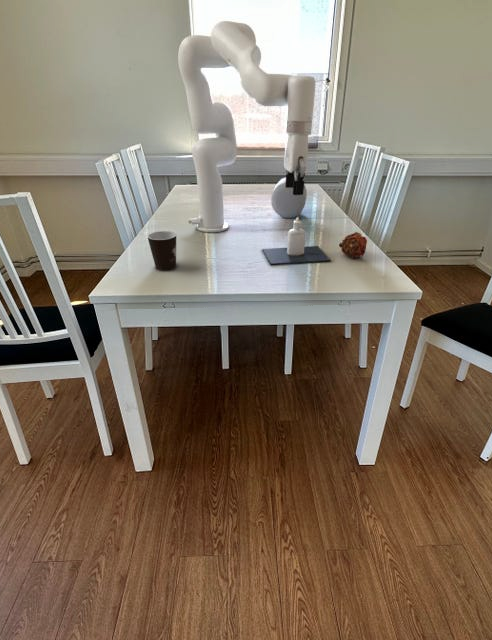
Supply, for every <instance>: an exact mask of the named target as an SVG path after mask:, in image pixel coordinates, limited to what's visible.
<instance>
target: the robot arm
mask: <svg viewBox="0 0 492 640" xmlns="http://www.w3.org/2000/svg"><path fill="white" fill-rule="evenodd" d="M256 37H257V36H256V34H255V32H254V29H253V28H252V27H251V26H250V25H249V24H247V23H243V22H236V21H230V20H222V21H219V22H217V23H216V24H215V25H214V26H213V28H212V29H211V33H210V36H209V35H201V34H193V35H188V36H186V37H184V38H183V40H182V41H181V43H180V45H179V48H178V53H177V61H178V68H179V72H180V73H179V74H180V75H181V79H182V81H183V86H184V89H185V93H186V100H187V106H188V112H189V118H190V123H191V127H192V129H193V131H194V132H195V133H196V134H199V135H210V134H211V135H212V134H215V137H206V138H201V139H198V140H197V141H195V143H194V144H193V146H192V149H191V155H192V160H193V164H194V168H195V176H196V184H197V186H196V188H197V196H198V197H197V198H198V212H199V213H198V216H196V217H194V218H193V217H189V218H188V219H187V220H188V224H191V225H196V230H197V231H199V232H203V233H221V232H224V231H226V230H228V229H229V224H228V223H227V222H225V216H224V215H225V214H224V212H225V211H224V190H223V189H224V188H223V187H224V186H223V185H224V184H223V178H222V175H221V173H220V172H219V169H218V168H219V167H225V166H231V165H232V164H234V163H235V161H236V159H237V155H238V146H237V137H236V129H235V121H234V115H233V113H232V111H231V108H230V107H229V106H228V105H227V104H226V103H224V102H220V101H215V102H214V100H213V96H212V88H211V85H210V83H209V81H208V79H207V77H206V75H205V73H204V72H203V70H218V71H222V70H228V69H229V68H232V69H233V70H235V72H237V73H238V79H239V82H240V85H241V87H242V89H243V91H244V92H245V93H246V94H247V95H248V96H249V97H250V98H251V99H252V100H253V101H254V102H256V103H257V104H258V105H261V106H263V107H286V115H285V129H284V130H285V135H286V139H285V146H284V147H285V148H284V157H283V168H284V169H285V170H286V171H285V177H286V183H285V187H286V188H293V195H303V191H304V185H305V180H306V177H305V176H306V173H305V172H306V171H307V165H308V156H309V155H308V153H309V136H311V135H312V128H313V118H314V106H315V95H316V78H315V77H314V76H311V75H292V74H285V73H283V74H282V73H267V72H265V70H263V69H262V68H261V67H260V63H261V61H262V52H261V50H260V47H259V45H257V39H256Z"/></svg>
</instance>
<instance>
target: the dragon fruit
mask: <svg viewBox="0 0 492 640" xmlns="http://www.w3.org/2000/svg"><path fill="white" fill-rule="evenodd" d="M367 243H368V240H367V238H366V237H365V236H362V233H360V232H358V231H354V233H350V234H348V235H346V236H344V238H343V239H342V242H339V244H338V247H339V248H340V250H341V252H342V254H343V255H345V256H346V257H348V258H350V259H353V260H354V259H356V258H358V257H363V256H365V254H366V252H367V251H366V250H367Z"/></svg>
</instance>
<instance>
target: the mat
mask: <svg viewBox="0 0 492 640" xmlns="http://www.w3.org/2000/svg"><path fill="white" fill-rule="evenodd" d="M262 252H263V254H264V256H265V258H266V260H267V261H268V263H269V265H270V266H281V265H282V266H283V265H284V266H285V265H296V264H297V265H298V264H314V263H328V262H329V263H331V259H330V258H329V256H327V255H326V253H325V252H324V251H323V250H322V249H321V247H319V246H318V245H312V246H311V245H309V246H308V245H307V246H304V254H302V255H298V256H290V255H288V254H287V247H272V248H262Z"/></svg>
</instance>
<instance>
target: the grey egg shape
mask: <svg viewBox="0 0 492 640" xmlns="http://www.w3.org/2000/svg"><path fill="white" fill-rule="evenodd" d="M285 183H286V176H285V177H283V178H281V179H280V180H279V181H278V182H277V183H276V185H275V186H274V188H273V190H272V192H271V193H272V194H271V196H270V197H271V198H270V201H271V202H270V203H271V206H272V209H273V211H274V212H275V213H276V214H277V216H280V217H281V218H283V219H292V218H296V217H297V216H298V215H300V214H301V213H302V211H303V210H304V209H305V206H306V203H307V197H308V193H307V187H306V184H304V191H303V195H293V188H286V187H285ZM268 215H270V213H269V212H268Z"/></svg>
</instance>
